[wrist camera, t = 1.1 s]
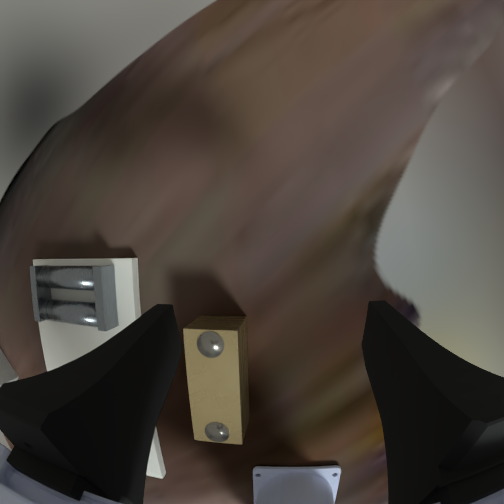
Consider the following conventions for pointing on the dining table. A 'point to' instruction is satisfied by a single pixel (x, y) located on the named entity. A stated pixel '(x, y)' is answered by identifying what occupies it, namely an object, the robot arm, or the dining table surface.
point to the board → (88, 338)
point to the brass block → (218, 377)
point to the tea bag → (6, 370)
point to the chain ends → (75, 279)
